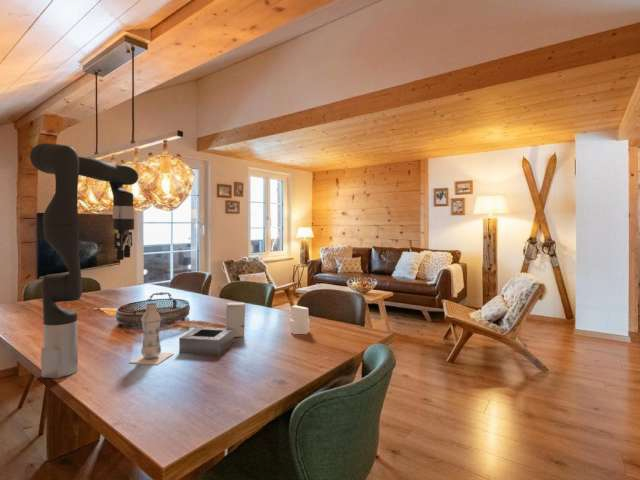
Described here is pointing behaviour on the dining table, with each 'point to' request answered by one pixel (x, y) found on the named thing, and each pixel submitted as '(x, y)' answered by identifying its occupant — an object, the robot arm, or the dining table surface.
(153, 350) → the plastic bottle
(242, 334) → the skincare box
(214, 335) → the housing block
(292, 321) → the cylinder with rectangular tab
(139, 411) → the dining table surface
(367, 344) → the dining table surface
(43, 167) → the robot arm
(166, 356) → the rubber mat
